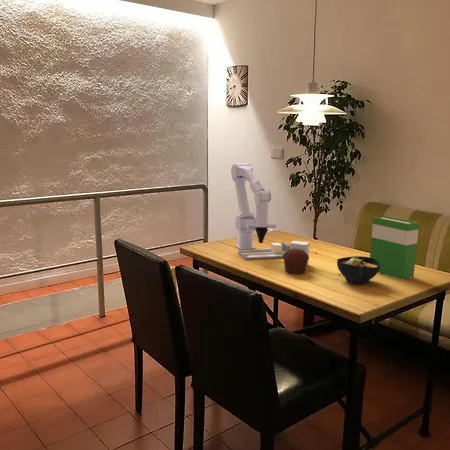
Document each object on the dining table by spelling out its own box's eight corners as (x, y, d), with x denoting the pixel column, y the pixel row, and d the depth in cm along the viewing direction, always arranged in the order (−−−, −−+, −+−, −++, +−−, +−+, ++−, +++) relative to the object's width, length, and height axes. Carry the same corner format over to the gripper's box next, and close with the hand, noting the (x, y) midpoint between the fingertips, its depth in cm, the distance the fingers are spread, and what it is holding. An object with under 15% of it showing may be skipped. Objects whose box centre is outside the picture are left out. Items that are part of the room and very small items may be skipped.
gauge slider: (270, 250, 240) (271, 242, 239) (278, 250, 241) (278, 242, 240) (276, 254, 232) (276, 246, 231) (283, 254, 233) (284, 246, 232)
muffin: (307, 268, 214) (308, 247, 212) (309, 276, 203) (310, 253, 202) (280, 267, 215) (281, 245, 213) (281, 274, 204) (282, 252, 202)
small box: (308, 264, 221) (309, 242, 219) (305, 267, 216) (306, 244, 214) (291, 262, 224) (293, 240, 222) (288, 265, 219) (289, 242, 217)
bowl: (386, 282, 197) (388, 259, 195) (364, 291, 185) (366, 266, 183) (349, 273, 209) (351, 250, 207) (327, 280, 197) (329, 257, 195)
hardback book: (368, 269, 215) (373, 217, 210) (379, 267, 219) (384, 215, 214) (402, 280, 201) (408, 224, 196) (413, 277, 205) (419, 222, 200)
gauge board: (238, 253, 238) (238, 243, 237) (283, 251, 244) (284, 242, 243) (245, 259, 226) (245, 249, 225) (292, 257, 232) (293, 247, 231)
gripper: (250, 217, 226) (249, 245, 229) (278, 216, 230) (277, 244, 233) (245, 214, 233) (244, 241, 236) (273, 213, 237) (272, 240, 239)
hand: (260, 242), depth 235 cm, fingers closed
